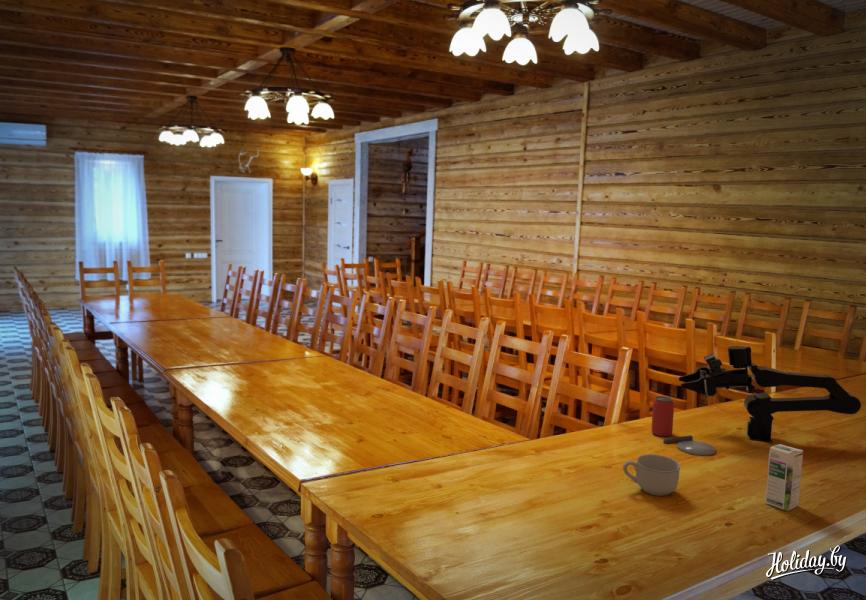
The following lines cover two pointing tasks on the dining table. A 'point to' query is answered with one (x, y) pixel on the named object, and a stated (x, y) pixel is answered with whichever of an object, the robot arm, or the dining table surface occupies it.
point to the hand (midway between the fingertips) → (679, 382)
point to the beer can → (662, 416)
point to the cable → (678, 439)
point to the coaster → (696, 448)
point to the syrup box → (784, 477)
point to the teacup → (655, 473)
